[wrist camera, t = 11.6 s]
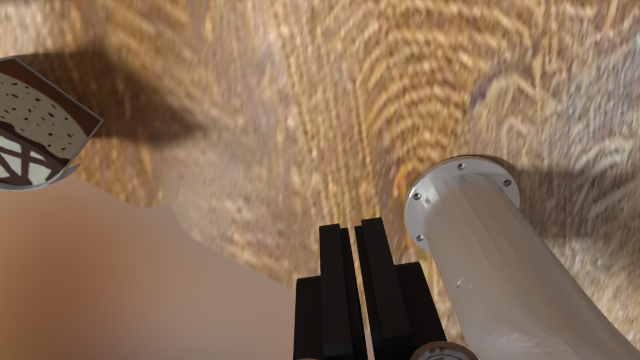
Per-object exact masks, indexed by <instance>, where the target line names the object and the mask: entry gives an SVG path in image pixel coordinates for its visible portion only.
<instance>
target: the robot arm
mask: <svg viewBox="0 0 640 360" xmlns="http://www.w3.org/2000/svg"><path fill="white" fill-rule="evenodd" d="M459 164H460V165H459ZM416 193H417V194H416ZM519 208H520V192H519V189H518V186H517V183H516V182H515V180H514V178H513V177H512V176H511V174H510V173H509V172H508V171H507V170H506V169H505V168H504V167H502V166H501V165H500V164H498V163H496V162H494V161H492V160H490V159H487V158H483V157H479V156H461V157H454V158H451V159H447V160H444V161H442V162H440V163H438V164H436V165H434V166H432V167H431V168H429V169H428V170H426V171H425V172H424V173H423V174H422V175H421V176H419V177H418V178H417V179H416V181H415V182H414V183H413V185H412V186H411V187H410V189H409V191H408V193H407V195H406V198H405V202H404V206H403V218H404V222H405V226H406V229H407V231H408V233H409V235H410V237H411V238H412V240H413V241H414V242H415V243H416V244H417V245H418V246H419V247H421V248H422V249H424V250H425V251H427V252H429V253H431V254H432V257H433V259H434V262H435V264H436V267H437V269H438V272H439V274H440V277H441V279H442V282H443V284H444V287H445V289H446V292H447V294H448V297H449V300H450V302H451V305H452V307H453V310H454V312H455V315H456V317H457V320H458V322H459V325H460V327H461V329H462V332H463V334H464V337H465V339H466V341H467V343H468V345H469V346H470V348H471V349H472V351H473V352H474V353H473V352H472V351H470V350H469V349H467V348H466V347H464V346H462V345H459V344H457V343H454V342H447V339H446V336H445V333H444V330H443V327H442V324H441V322H440V319H439V316H438V313H437V310H436V307H435V304H434V301H433V299H432V296H431V293H430V290H429V287H428V284H427V281H426V279H425V276H424V273H423V270H422V267H421V265H420V263H419V262H412V263H405V264H398V265H394V263H393V259H392V255H391V252H390V248H389V244H388V240H387V236H386V233H385V229H384V225H383V221H382V218H381V217H378V218H372V219H365V220H361V222H362V225H361V226H355V227H354V228H355V235H356V241H357V248H358V254H359V261H360V267H361V274H362V280H363V287H364V293H365V300H366V306H367V313H368V319H369V325H370V332H371V338H372V344H373V351H374V357H375V360H479V359H480V360H640V351H639V350H638V349H637V348H636V347H635V346H633V345H632V344H631V343H630V342H629V341H628V340H627V339H626V338H625V337H624V336H623V335H622V334H621V333H620V332H619V331H618V330H617V329H616V327H615V326H614V325H613V324H612V323H611V322H610V321H609V320H608V319H607V317H606V316H605V315H604V314H603V313H602V312H601V311H600V309H599V308H598V307H597V306H596V305H595V304H594V302H593V301H592V300H591V299H590V298H589V297H588V295H587V294H586V293H585V292H584V290H583V289H582V288H581V287H580V285H579V284H578V283H577V282H576V280H575V279H574V278H573V277H572V276H571V274H570V273H569V272H568V271H567V269H566V268H565V267H564V265H563V264H562V263H561V262H560V260H559V259H558V258H557V257H556V255H555V254H554V253H553V252H552V250H551V249H550V248H549V247H548V245H547V244H546V243H545V242H544V240H543V239H542V238H541V237H540V235H539V234H538V233H537V232H536V231H535V229H534V228H533V227H532V226H531V224H530V223H529V222H528V221H527V219H526V218H525V217H524V216H523V214H522V213H521V212H520V211H519ZM319 238H320V271H321V276H313V277H306V278H299V279H297V283H296V304H295V328H294V329H295V330H294V353H293V360H368V355H367V348H366V340H365V334H364V326H363V319H362V312H361V305H360V299H359V293H358V287H357V281H356V275H355V268H354V262H353V256H352V250H351V244H350V238H349V232H348V228H341V229H340V225H339V223H338V224H331V225H325V226H319ZM476 356H477V357H478V358H479V359H478V358H477V357H476Z"/></svg>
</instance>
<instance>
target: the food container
mask: <svg viewBox="0 0 640 360" xmlns="http://www.w3.org/2000/svg"><path fill="white" fill-rule="evenodd" d="M103 122H104V120H103V119H102V118H100V117H99V116H97V115H96V114H95V113H93V112H92V111H90V110H89V109H88V108H86V107H85V106H83V105H82V104H81V103H79V102H78V101H77V100H75V99H74V98H72V97H71V96H70V95H68V94H67V93H65V92H64V91H63V90H61V89H60V88H58V87H57V86H56V85H54V84H53V83H51V82H50V81H49V80H47V79H46V78H44V77H43V76H42V75H40V74H39V73H37V72H36V71H35V70H33V69H32V68H30V67H29V66H28V65H26V64H25V63H23V62H22V61H21V60H19V59H18V58H16V57H15V56H10V57H5V58H0V189H1V190H7V191H28V190H34V189H39V188H43V187H46V186H49V185H51V184H53V183H55V182H58V181H60V180H62V179H64V178H66V177H68V176H69V175H70V174H72V173H73V172H74V171H76V169H77V168H78V167H79V166H80V165H81V164H77V165H75V166H73V167H71V168H68V167H69V165H70V164H71V163H72V162H73V160H74V159H75V158H76V156H77V155H78V154H79V153H80V151H81V150H82V149H83V147H84V146H85V145H86V144H87V142H88V141H89V140H90V139H91V137H92V136H93V135H94V133H95V132H96V131H97V130H98V128H99V127H100V126H101V124H102V123H103Z"/></svg>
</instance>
